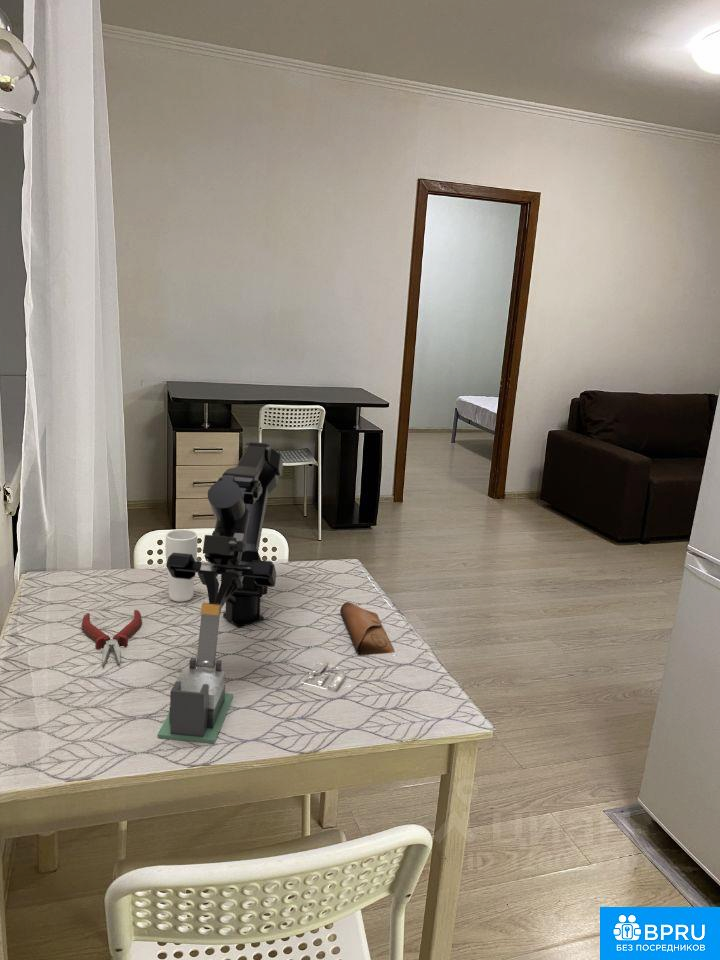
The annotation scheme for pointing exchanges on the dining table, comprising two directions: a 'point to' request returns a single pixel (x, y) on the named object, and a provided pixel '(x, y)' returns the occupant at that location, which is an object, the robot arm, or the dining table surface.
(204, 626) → the grey hinged lever
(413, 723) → the dining table surface
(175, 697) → the socket board
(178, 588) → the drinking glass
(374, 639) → the sunglasses case
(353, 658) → the dining table surface
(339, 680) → the clear plastic blister pack
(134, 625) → the pliers
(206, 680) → the heat sink
